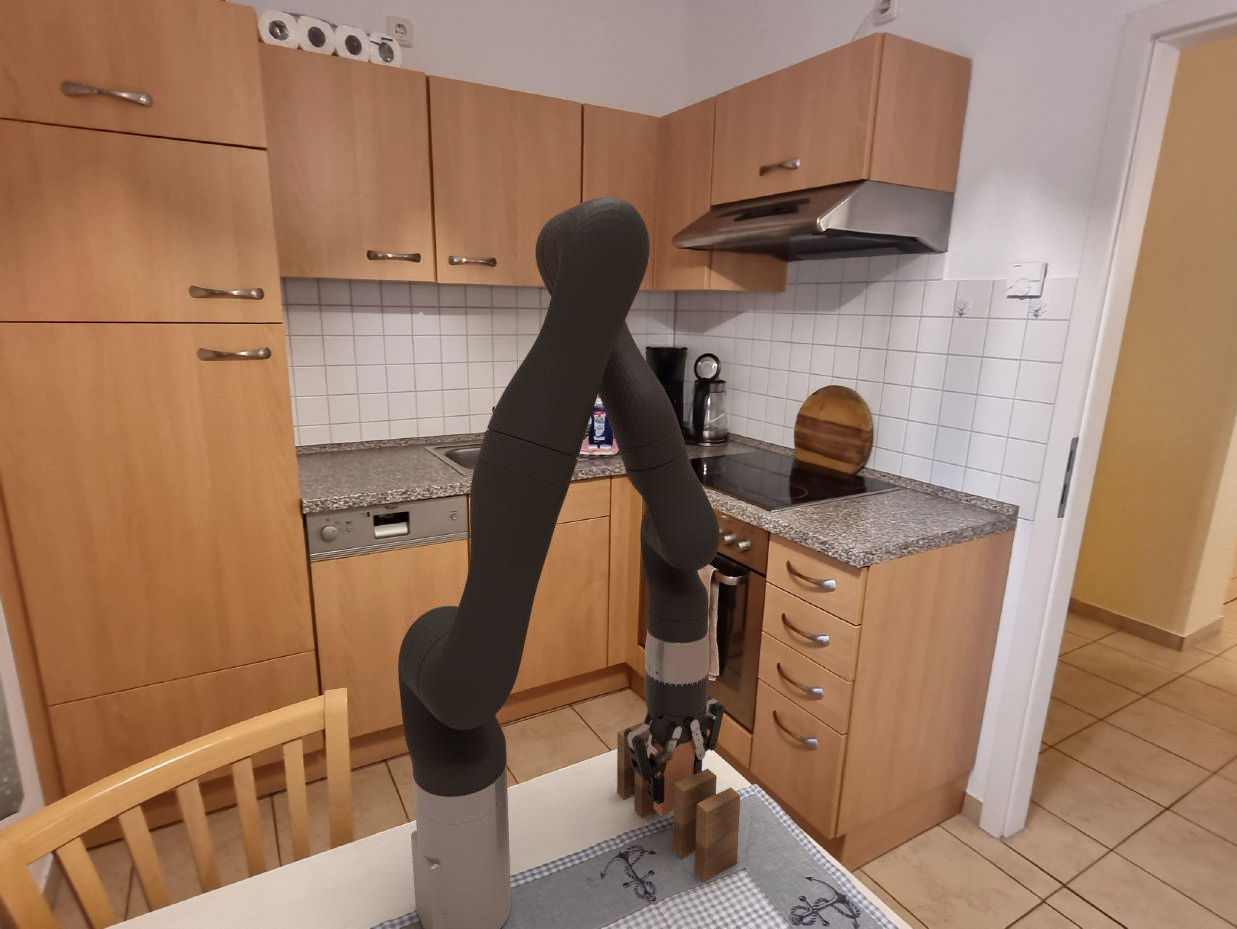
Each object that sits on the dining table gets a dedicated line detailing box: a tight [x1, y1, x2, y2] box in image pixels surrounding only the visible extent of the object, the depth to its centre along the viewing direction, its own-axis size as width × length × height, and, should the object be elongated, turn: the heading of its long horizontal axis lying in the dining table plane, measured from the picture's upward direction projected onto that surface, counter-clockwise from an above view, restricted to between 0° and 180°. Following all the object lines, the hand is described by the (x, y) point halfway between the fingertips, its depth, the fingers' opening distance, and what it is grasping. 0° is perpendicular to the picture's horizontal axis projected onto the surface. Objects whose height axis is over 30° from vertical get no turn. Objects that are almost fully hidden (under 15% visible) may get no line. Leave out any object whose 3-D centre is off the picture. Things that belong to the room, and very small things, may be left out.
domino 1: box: [616, 721, 649, 800], centre depth 91 cm, size 5×2×9 cm, turn 123°
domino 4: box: [672, 768, 717, 860], centre depth 81 cm, size 5×2×9 cm, turn 123°
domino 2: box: [633, 748, 657, 819], centre depth 88 cm, size 5×2×9 cm, turn 123°
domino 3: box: [654, 739, 695, 817], centre depth 84 cm, size 5×2×9 cm, turn 124°
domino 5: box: [694, 786, 741, 883], centre depth 78 cm, size 5×2×9 cm, turn 123°
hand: (674, 790), depth 85 cm, fingers closed on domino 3, 5 cm apart
